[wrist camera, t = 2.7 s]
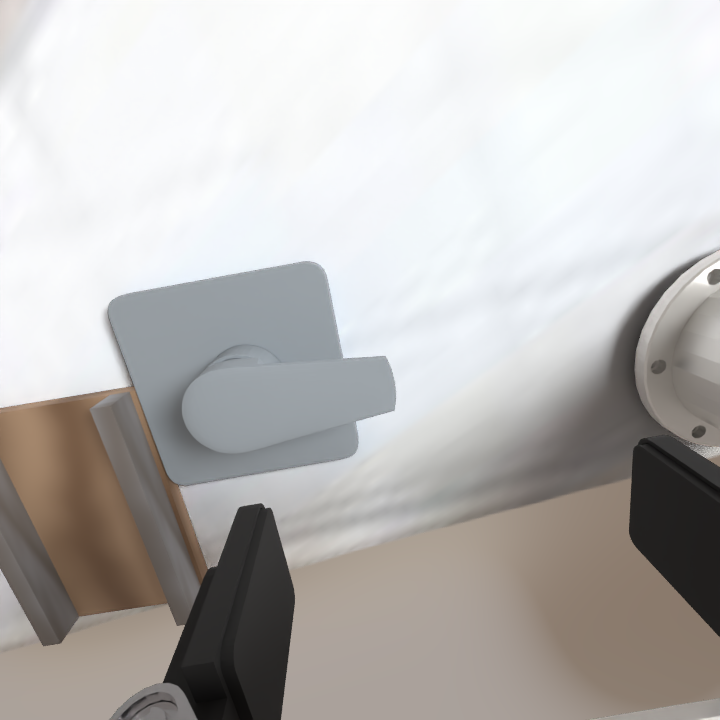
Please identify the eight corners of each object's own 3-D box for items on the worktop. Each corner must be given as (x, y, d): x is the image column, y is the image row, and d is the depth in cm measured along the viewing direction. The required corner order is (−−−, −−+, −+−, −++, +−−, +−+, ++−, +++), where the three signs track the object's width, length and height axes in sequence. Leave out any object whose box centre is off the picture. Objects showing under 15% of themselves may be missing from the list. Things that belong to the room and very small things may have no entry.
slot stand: (142, 384, 25) (116, 404, 22) (213, 584, 30) (199, 622, 27) (-31, 413, 25) (-78, 436, 23) (68, 607, 30) (38, 646, 27)
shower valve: (412, 493, 22) (137, 538, 22) (399, 441, 27) (177, 479, 27) (375, 255, 18) (43, 316, 18) (368, 249, 23) (110, 296, 23)
